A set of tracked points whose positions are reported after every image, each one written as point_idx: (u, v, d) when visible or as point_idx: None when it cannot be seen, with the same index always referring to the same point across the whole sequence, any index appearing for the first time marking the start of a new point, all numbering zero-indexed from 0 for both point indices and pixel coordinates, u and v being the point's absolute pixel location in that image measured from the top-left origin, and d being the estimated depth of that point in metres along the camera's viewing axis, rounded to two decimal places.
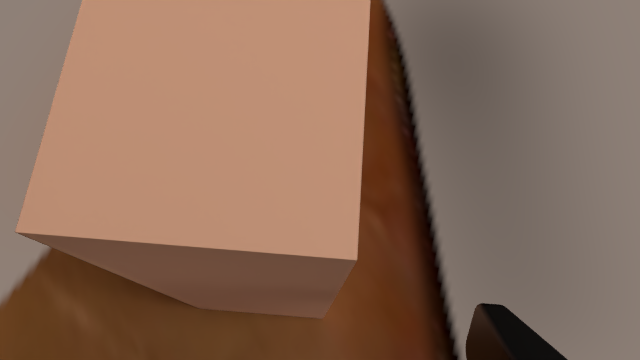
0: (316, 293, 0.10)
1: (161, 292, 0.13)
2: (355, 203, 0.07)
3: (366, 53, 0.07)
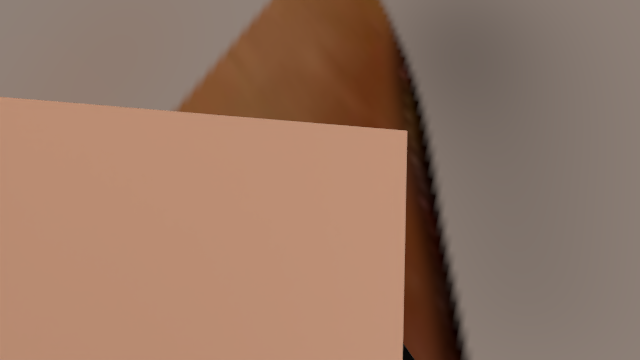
0: None
1: None
2: None
3: (400, 330, 0.03)
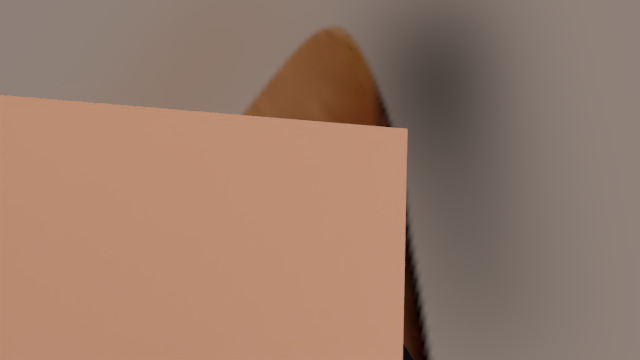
0: None
1: None
2: None
3: (400, 327, 0.03)
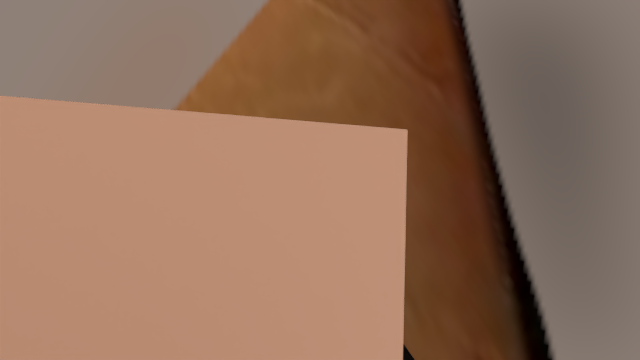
0: None
1: None
2: None
3: (400, 329, 0.03)
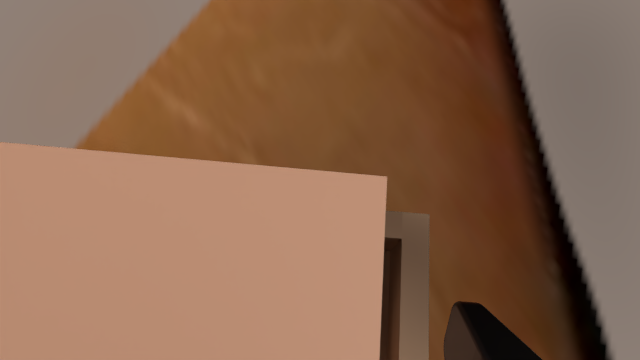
0: None
1: None
2: None
3: (378, 334, 0.04)
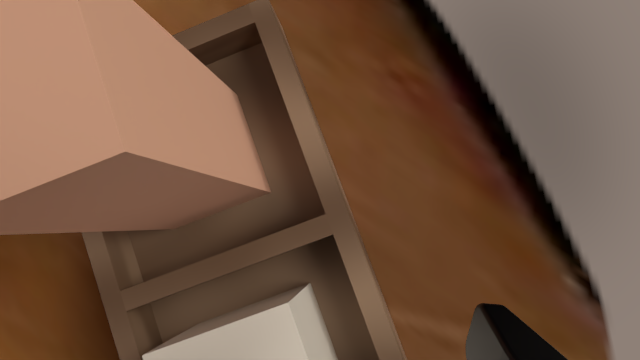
0: (192, 180, 0.13)
1: (109, 230, 0.16)
2: (109, 112, 0.09)
3: None
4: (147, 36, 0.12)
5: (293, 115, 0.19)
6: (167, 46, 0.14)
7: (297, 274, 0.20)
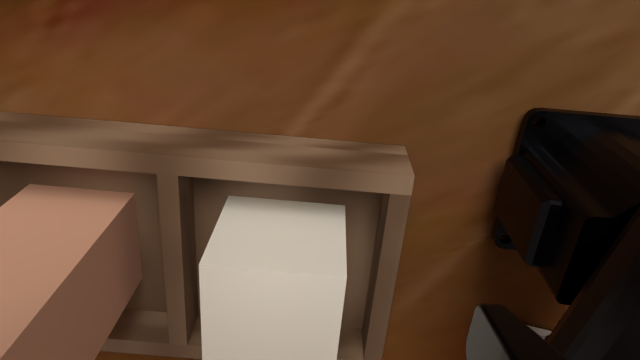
0: (35, 330, 0.14)
1: None
2: None
3: None
4: None
5: (51, 161, 0.18)
6: None
7: (217, 202, 0.21)
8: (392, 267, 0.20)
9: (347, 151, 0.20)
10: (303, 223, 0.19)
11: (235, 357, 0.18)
